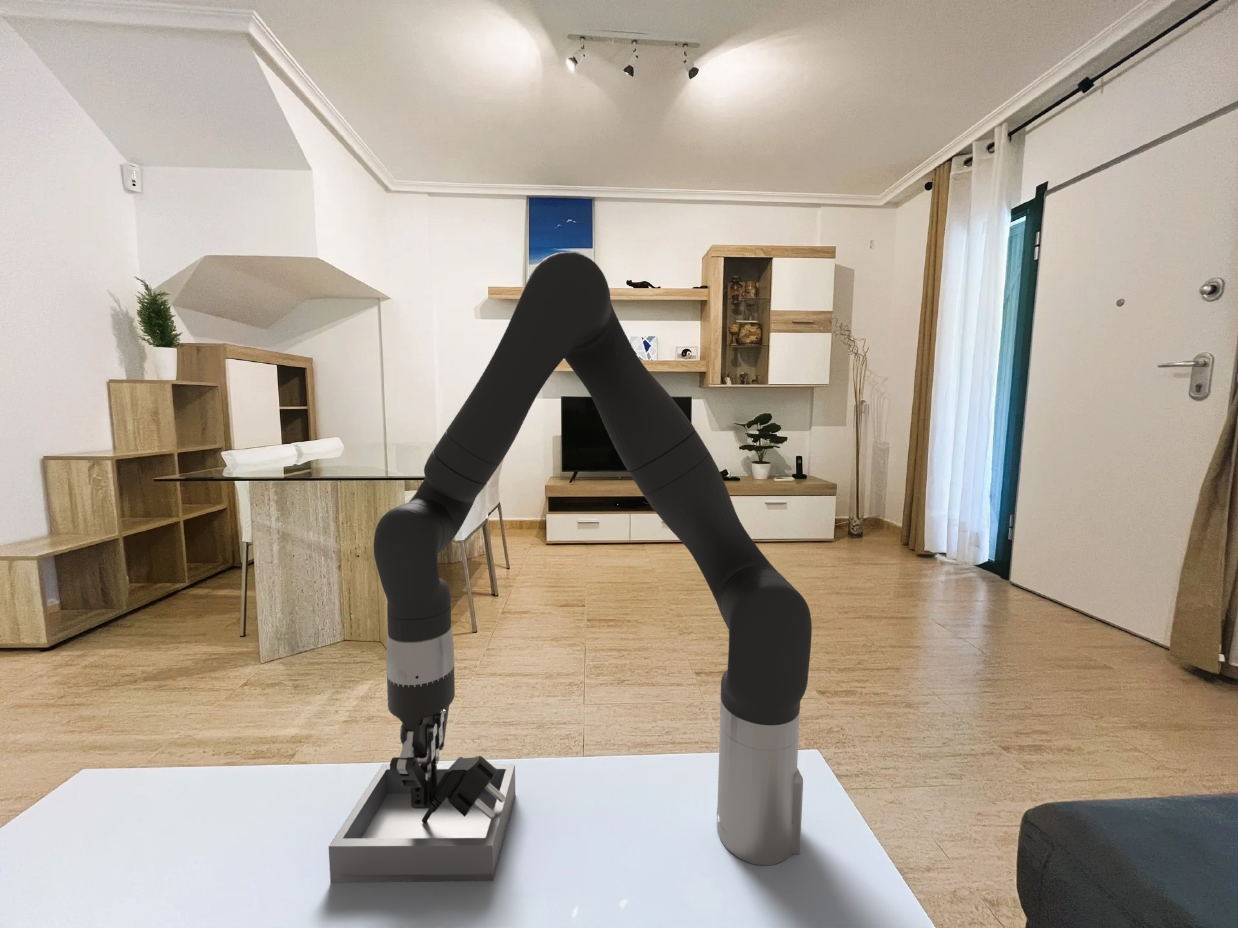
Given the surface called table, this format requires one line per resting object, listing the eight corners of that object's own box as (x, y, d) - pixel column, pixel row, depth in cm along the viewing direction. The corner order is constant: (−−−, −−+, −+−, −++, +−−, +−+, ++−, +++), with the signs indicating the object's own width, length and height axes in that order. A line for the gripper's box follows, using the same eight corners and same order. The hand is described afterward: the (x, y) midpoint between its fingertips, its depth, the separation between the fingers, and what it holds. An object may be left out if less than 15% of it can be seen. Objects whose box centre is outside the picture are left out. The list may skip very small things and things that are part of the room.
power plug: (433, 799, 66) (474, 735, 63) (477, 839, 64) (521, 776, 62) (404, 833, 60) (447, 765, 58) (451, 877, 59) (497, 810, 56)
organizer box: (515, 794, 69) (514, 763, 69) (493, 882, 56) (492, 845, 56) (383, 794, 69) (382, 763, 68) (330, 883, 56) (328, 846, 55)
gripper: (432, 697, 53) (435, 847, 55) (468, 640, 67) (470, 761, 69) (361, 697, 53) (367, 847, 55) (412, 639, 67) (415, 761, 69)
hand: (424, 799), depth 62 cm, fingers closed
